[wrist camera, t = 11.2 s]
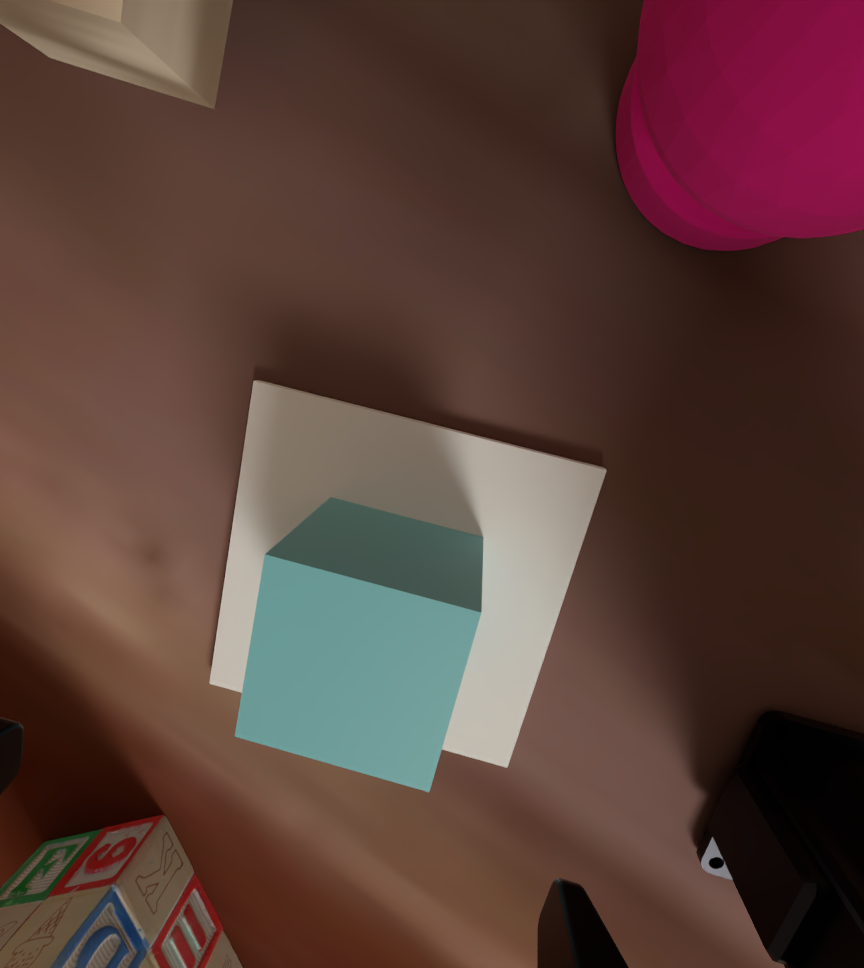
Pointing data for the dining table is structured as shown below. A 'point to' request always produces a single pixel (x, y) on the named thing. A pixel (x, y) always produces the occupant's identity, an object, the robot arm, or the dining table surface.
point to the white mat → (426, 497)
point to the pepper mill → (746, 120)
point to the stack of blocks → (111, 904)
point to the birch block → (131, 40)
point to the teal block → (362, 641)
